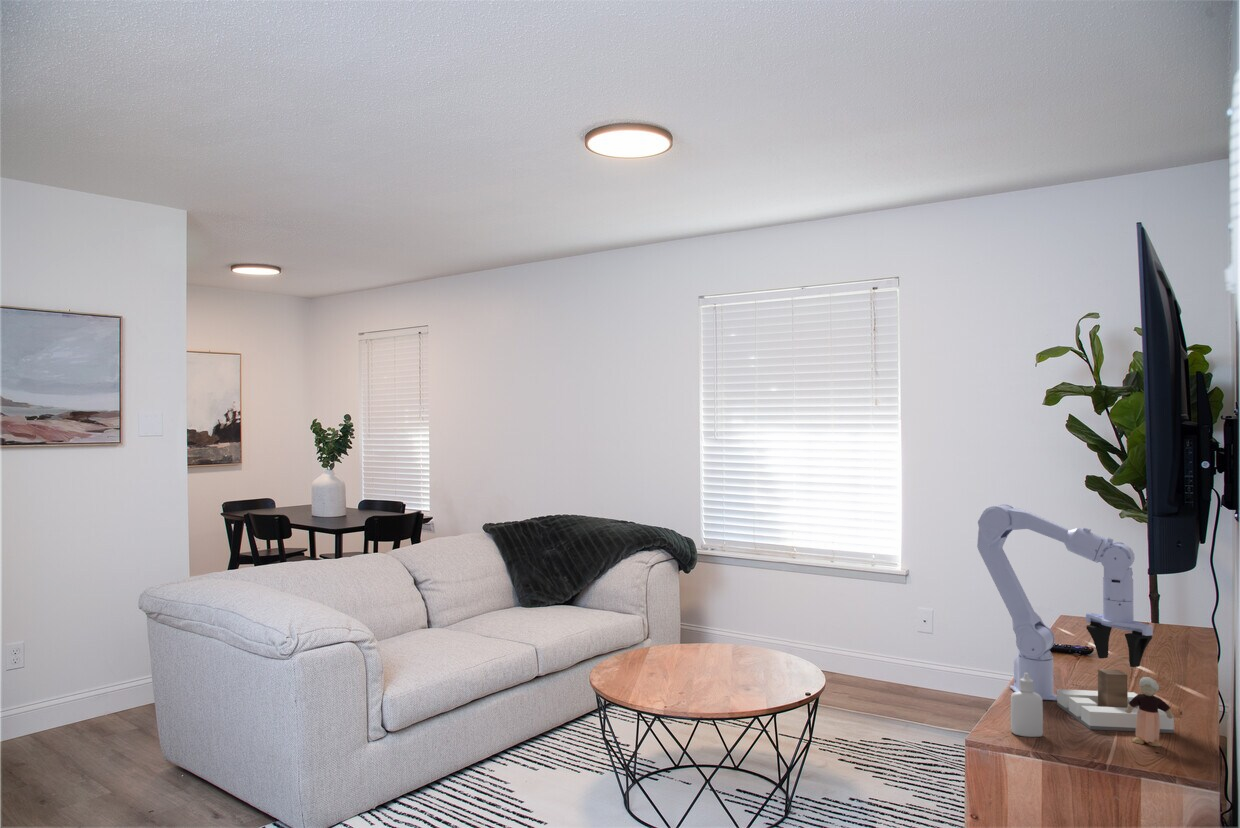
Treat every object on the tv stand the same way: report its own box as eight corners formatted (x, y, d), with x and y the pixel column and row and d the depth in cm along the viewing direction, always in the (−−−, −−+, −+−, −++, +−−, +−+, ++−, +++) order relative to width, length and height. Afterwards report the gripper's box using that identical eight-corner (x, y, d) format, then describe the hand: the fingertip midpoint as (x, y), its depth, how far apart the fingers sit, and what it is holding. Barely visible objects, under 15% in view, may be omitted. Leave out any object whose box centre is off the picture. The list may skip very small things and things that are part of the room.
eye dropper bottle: (1014, 728, 170) (1014, 668, 171) (1044, 734, 167) (1044, 673, 167) (1008, 734, 167) (1008, 672, 167) (1039, 740, 163) (1039, 678, 164)
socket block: (1057, 705, 186) (1057, 689, 186) (1133, 708, 184) (1133, 692, 185) (1089, 729, 170) (1089, 711, 170) (1173, 733, 169) (1173, 715, 169)
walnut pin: (1098, 711, 180) (1097, 669, 180) (1117, 712, 179) (1117, 669, 180) (1107, 717, 176) (1107, 674, 176) (1127, 718, 175) (1127, 674, 176)
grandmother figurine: (1128, 743, 162) (1128, 677, 163) (1124, 737, 166) (1124, 672, 166) (1175, 749, 159) (1174, 681, 160) (1170, 742, 163) (1169, 676, 163)
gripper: (1075, 594, 189) (1076, 655, 189) (1135, 606, 176) (1136, 672, 175) (1098, 593, 192) (1099, 653, 191) (1159, 604, 178) (1160, 669, 178)
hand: (1118, 662), depth 183 cm, fingers open, 7 cm apart
